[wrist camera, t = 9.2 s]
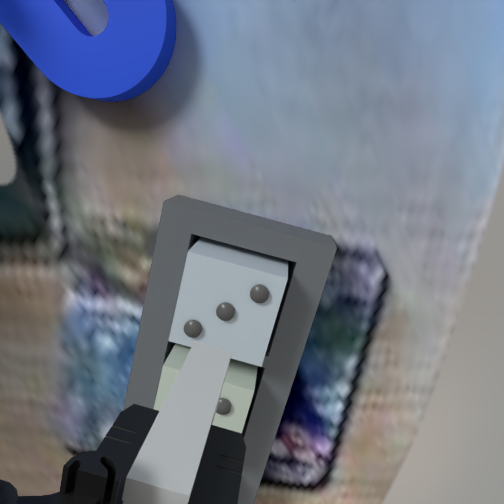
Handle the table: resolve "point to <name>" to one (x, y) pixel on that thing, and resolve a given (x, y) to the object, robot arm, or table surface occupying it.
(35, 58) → the bracket
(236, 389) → the key two
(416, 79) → the table surface
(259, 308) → the key three
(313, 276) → the keypad housing
